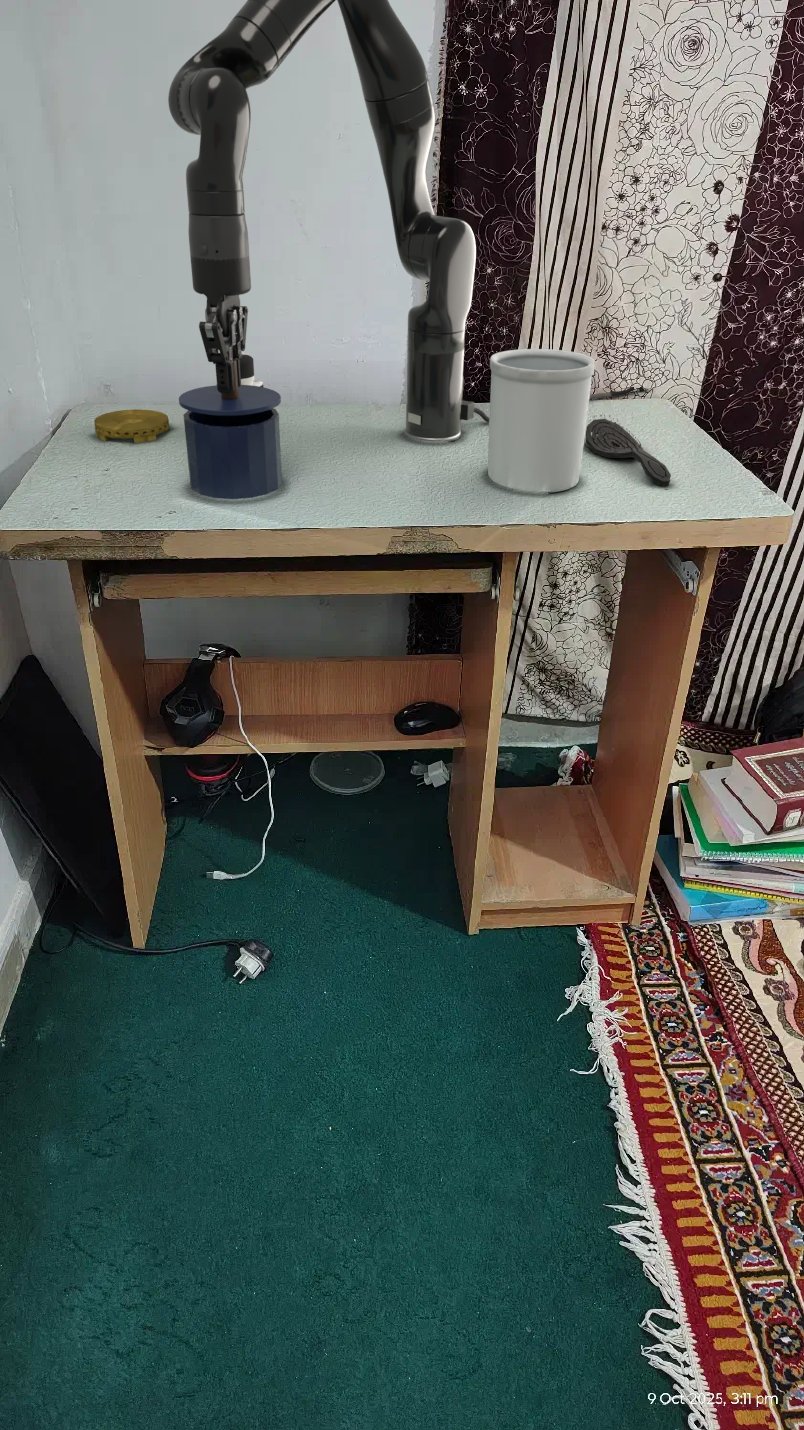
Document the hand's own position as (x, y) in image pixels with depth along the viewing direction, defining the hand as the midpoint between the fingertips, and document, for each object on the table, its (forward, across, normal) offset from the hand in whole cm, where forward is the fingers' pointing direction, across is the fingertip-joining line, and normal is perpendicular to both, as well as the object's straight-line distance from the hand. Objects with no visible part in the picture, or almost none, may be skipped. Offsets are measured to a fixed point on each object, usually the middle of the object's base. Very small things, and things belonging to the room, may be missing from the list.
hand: (229, 389), depth 136 cm
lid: (+2, 0, 0) cm, 2 cm away
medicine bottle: (+14, +29, +9) cm, 33 cm away
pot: (+14, 0, 0) cm, 14 cm away
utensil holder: (+14, +13, -42) cm, 46 cm away
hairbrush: (+14, +26, -57) cm, 64 cm away
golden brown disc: (+14, +22, +25) cm, 36 cm away
